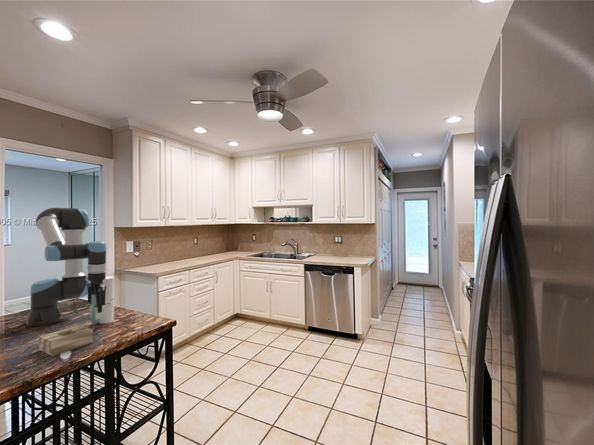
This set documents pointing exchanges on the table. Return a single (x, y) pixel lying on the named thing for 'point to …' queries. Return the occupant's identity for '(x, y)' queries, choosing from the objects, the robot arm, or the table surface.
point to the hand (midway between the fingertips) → (96, 317)
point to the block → (65, 340)
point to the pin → (94, 310)
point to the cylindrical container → (108, 301)
